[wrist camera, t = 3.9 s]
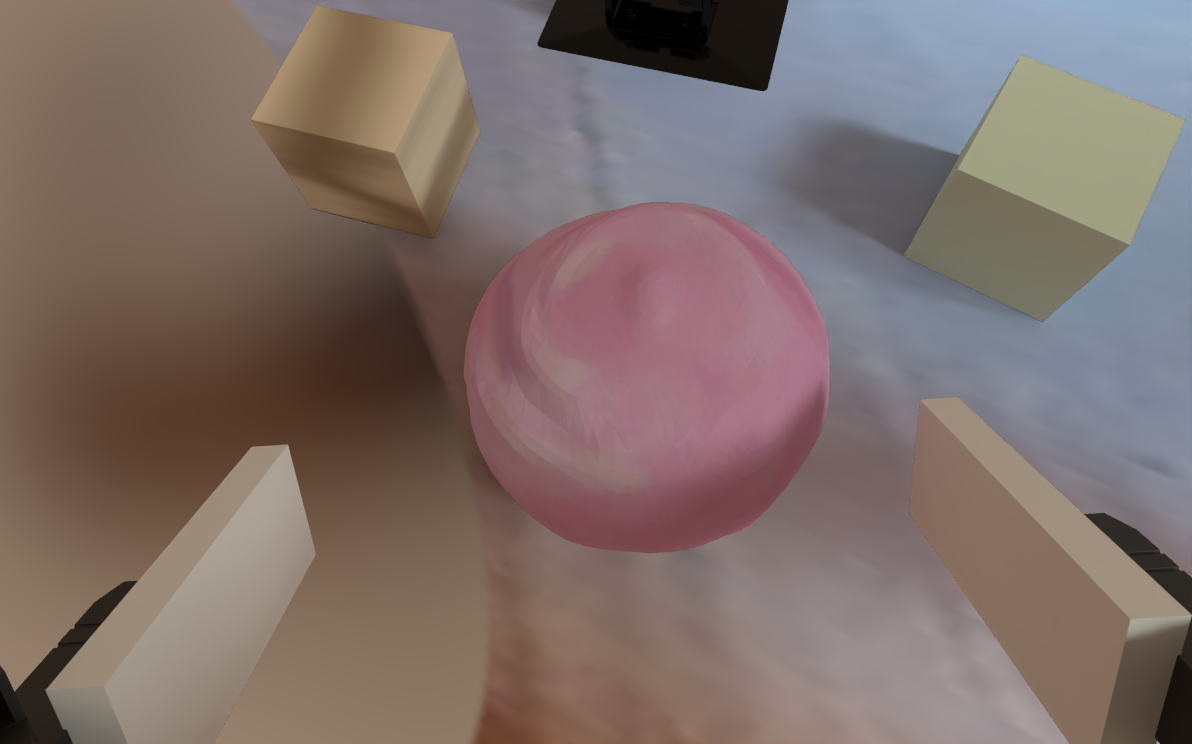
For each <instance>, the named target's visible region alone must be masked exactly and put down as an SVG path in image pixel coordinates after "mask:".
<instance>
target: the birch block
mask: <svg viewBox="0 0 1192 744" xmlns="http://www.w3.org/2000/svg"><path fill="white" fill-rule="evenodd" d="M251 120H252V122H253V123H254V125H255V126H256V128H257V129H258V131H259V132H260V134H261V135H262V136H263V138H264V140H265V141H266V143H267V144H268V145H269V147H270V148H271V150H272V151H273V153H274V154H275V156H276V157H277V159H278V160H279V161H280V163H281V165H282V166H283V167H284V169H285V170H286V172H287V173H288V175H289V176H290V178H291V179H292V181H293V182H294V184H295V185H296V187H297V188H298V189H299V191H300V192H301V194H302V195H303V197H304V198H305V200H306V201H307V203H308V204H309V206H310V207H311V208H312V209H314V210H318V211H321V212H326V213H329V214H333V215H337V216H342V217H345V218H349V219H353V220H357V221H361V222H366V223H370V224H373V225H375V224H377V225H381V226H385V227H389V228H393V229H397V230H401V231H405V232H409V233H413V234H417V235H421V236H425V237H429V238H434V236H435V234H436V231H437V229H438V227H439V224H440V222H441V220H442V218H443V215H444V213H445V211H446V209H447V206H448V204H449V202H450V200H451V197H452V195H453V193H454V190H455V188H456V186H457V184H458V181H459V179H460V177H461V175H462V172H463V170H464V168H465V166H466V163H467V161H468V159H469V156H470V154H471V152H472V150H473V147H474V145H475V143H476V141H477V138H478V136H479V134H480V129H479V125H478V121H477V118H476V114H475V111H474V107H473V104H472V100H471V97H470V93H469V90H468V86H467V82H466V79H465V75H464V72H463V68H462V65H461V61H460V58H459V54H458V50H457V47H456V43H455V40H454V36H453V33H450V32H445V31H440V30H435V29H430V28H425V27H420V26H415V25H410V24H406V23H401V22H396V21H391V20H386V19H381V18H376V17H371V16H366V15H361V14H356V13H352V12H347V11H342V10H337V9H332V8H327V7H322V6H316V8H315V9H314V11H313V13H312V15H311V16H310V18H309V20H308V21H307V23H306V25H305V27H304V28H303V30H302V32H301V34H300V35H299V37H298V39H297V40H296V42H295V44H294V46H293V47H292V49H291V51H290V53H289V54H288V56H287V58H286V59H285V61H284V63H283V65H282V66H281V68H280V70H279V72H278V73H277V75H276V77H275V79H274V80H273V82H272V84H271V85H270V87H269V89H268V91H267V92H266V94H265V96H264V98H263V100H262V101H261V103H260V105H259V106H258V108H257V110H256V111H255V113H254V115H253V117H252V118H251Z"/></svg>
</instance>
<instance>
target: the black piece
mask: <svg viewBox="0 0 1192 744" xmlns="http://www.w3.org/2000/svg"><path fill="white" fill-rule="evenodd" d="M787 4H788V0H556V2H555V4H554V6H553V9H552V11H551V13H550V16H549V18H548V20H547V22H546V25H545V27H544V29H543V32H542V34H541V36H540V38H539V41H538V46H539V47H542V48H547V49H552V50H557V51H562V52H567V53H572V54H577V55H582V56H587V57H592V58H597V59H602V60H607V61H612V62H617V63H622V64H628V65H633V66H638V67H643V68H648V69H653V70H658V71H663V72H668V73H673V74H678V75H683V76H688V77H693V78H698V79H703V80H708V81H713V82H718V83H723V84H728V85H733V86H738V87H743V88H748V89H753V90H758V91H765V90H767V88H768V84H769V80H770V76H771V71H772V67H773V63H774V59H775V55H776V50H777V46H778V42H779V38H780V34H781V29H782V25H783V21H784V17H785V13H786V9H787Z"/></svg>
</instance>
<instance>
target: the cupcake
mask: <svg viewBox="0 0 1192 744" xmlns="http://www.w3.org/2000/svg"><path fill="white" fill-rule="evenodd" d="M463 378H464V380H465V382H466V385H467V401H468V405H469V408H470V419H471V426H472V429H473V432H474V435H475V437H476V443H477V446H478V448H479V450H480V452H481V454H482V455H483V457H484V459H485V461H486V463H487V465H488V467H489V468H490V470H491V472H492V474H493V475H494V476H495V478H496V479H497V480H498V482H499V483H500V484H501V486H502V487H503V488H504V489H505V490H506V491H507V492H508V494H509V495H510V496H511V497H512V498H513V499H514V500H515V501H516V502H517V503H518V504H519V505H520V506H521V507H522V508H523V509H524V510H525V511H526V512H527V513H529V514H530V515H531V516H532V517H533V518H535V519H536V520H537V521H538V522H540V523H541V524H542V525H544V526H545V527H547V528H548V529H550V530H551V531H552V532H554V533H556V534H558V535H559V536H561V537H563V538H565V539H566V540H569V541H572V542H575V543H578V544H581V545H583V546H589V547H594V548H600V549H608V550H618V551H629V552H643V553H659V552H671V551H678V550H685V549H689V548H693V547H697V546H700V545H703V544H706V543H708V542H711V541H713V540H716V539H718V538H720V537H723V536H725V535H728V534H731V533H734V532H737V531H740V530H742V529H743V528H745V527H747V526H748V525H750V524H751V523H753V522H754V521H755V520H756V519H758V518H759V517H760V516H761V515H762V514H763V513H764V512H765V511H766V510H767V509H768V508H769V507H770V506H771V504H772V503H773V502H774V501H775V500H776V498H777V497H778V496H779V495H780V493H781V492H782V491H783V490H784V489H785V487H786V486H787V485H788V483H789V482H790V481H791V479H792V478H793V477H794V475H795V474H796V472H797V471H798V470H799V468H800V467H801V465H802V464H803V462H804V461H805V459H806V458H807V457H808V455H809V453H810V451H811V449H812V448H813V446H814V444H815V442H816V440H817V438H818V436H819V434H820V432H821V429H822V427H823V424H824V421H825V418H826V415H827V409H828V402H829V395H830V354H829V340H828V336H827V332H826V328H825V324H824V320H823V316H822V314H821V311H820V309H819V307H818V305H817V303H816V301H815V299H814V297H813V294H812V293H811V291H810V289H809V288H808V286H807V284H806V283H805V281H804V279H803V278H802V276H801V275H800V273H799V272H798V271H797V269H796V268H795V267H794V266H793V264H792V263H791V262H790V260H789V259H788V258H787V256H786V255H785V254H784V253H783V252H782V251H781V250H779V249H778V248H777V247H776V246H775V245H774V244H773V243H771V242H770V241H769V240H768V239H766V238H765V237H763V236H762V235H760V234H759V233H757V232H756V231H754V230H753V229H751V228H750V227H748V226H747V225H745V224H744V223H742V222H740V221H739V220H737V219H735V218H733V217H731V216H729V215H727V214H725V213H722V212H719V211H716V210H714V209H711V208H706V207H702V206H698V205H693V204H685V203H669V202H652V203H644V204H638V205H634V206H629V207H626V208H623V209H620V210H612V211H606V212H601V213H597V214H593V215H589V216H586V217H583V218H581V219H578V220H575V221H573V222H570V223H568V224H565V225H563V226H561V227H558V228H556V229H553V230H552V231H550V232H548V233H547V234H545V235H543V236H542V237H540V238H538V239H537V240H536V241H534V242H533V243H532V244H531V245H530V246H529V247H527V248H526V249H524V250H523V251H522V252H520V253H519V254H517V255H516V256H514V257H513V258H512V259H511V260H510V261H509V262H508V263H507V264H506V265H505V267H504V268H503V269H502V270H501V271H500V272H499V273H498V274H497V275H496V277H495V278H494V279H493V281H492V282H491V283H490V285H489V286H488V287H487V289H486V291H485V293H484V295H483V296H482V298H481V300H480V302H479V304H478V306H477V308H476V311H475V314H474V316H473V319H472V322H471V325H470V328H469V333H468V338H467V343H466V351H465V360H464V374H463Z"/></svg>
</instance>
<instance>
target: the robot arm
mask: <svg viewBox="0 0 1192 744" xmlns="http://www.w3.org/2000/svg"><path fill="white" fill-rule="evenodd" d="M909 514H910V516H911V517H912V518H913V520H914V521H915V523H916V524H917V526H918V527H919V528H920V530H921V531H922V533H923V534H924V536H925V537H926V539H927V540H928V541H929V543H930V544H931V546H932V547H933V549H934V550H935V551H936V553H937V554H938V556H939V557H940V559H941V560H942V561H943V563H944V564H945V566H946V567H947V569H948V570H949V571H950V573H951V574H952V576H953V577H954V579H955V580H956V582H957V583H958V584H959V586H960V587H961V589H962V590H963V592H964V593H965V594H966V596H967V597H968V599H969V600H970V602H971V603H972V604H973V606H974V607H975V609H976V610H977V612H978V613H979V614H980V616H981V617H982V619H983V620H984V622H985V623H986V625H987V626H988V627H989V629H990V630H991V632H992V633H993V635H994V636H995V637H996V639H997V640H998V642H999V643H1000V645H1001V646H1002V647H1003V649H1004V650H1005V652H1006V653H1007V655H1008V656H1009V658H1010V659H1011V660H1012V662H1013V663H1014V665H1015V666H1016V668H1017V669H1018V670H1019V672H1020V673H1021V675H1022V676H1023V678H1024V679H1025V680H1026V682H1027V683H1028V685H1029V686H1030V688H1031V689H1032V690H1033V692H1034V693H1035V695H1036V696H1037V698H1038V699H1039V701H1040V702H1041V703H1042V705H1043V706H1044V708H1045V709H1046V711H1047V712H1048V713H1049V715H1050V716H1051V718H1052V719H1053V721H1054V722H1055V723H1056V725H1057V726H1058V728H1059V729H1060V731H1061V732H1062V733H1063V735H1064V736H1065V738H1066V739H1067V741H1068V742H1069V744H1156V742H1157V740H1158V742H1159V743H1160V744H1192V578H1191V577H1190V576H1189V575H1188V574H1187V573H1186V572H1185V571H1180V570H1179V566H1178V565H1176V564H1175V563H1174V562H1173V561H1172V560H1171V559H1170V558H1168V557H1167V556H1166V555H1165V554H1160V550H1159V549H1158V548H1157V547H1156V546H1155V545H1154V544H1152V543H1151V542H1150V541H1149V540H1148V539H1147V538H1145V537H1144V536H1143V535H1142V534H1141V533H1140V532H1139V531H1137V530H1136V529H1134V528H1132V527H1130V526H1128V525H1126V524H1124V523H1122V522H1121V521H1119V520H1117V519H1115V518H1113V517H1111V516H1109V515H1107V514H1105V513H1096V514H1083V513H1082V512H1081V511H1080V510H1079V509H1077V508H1076V507H1075V506H1074V505H1073V504H1072V503H1071V502H1070V501H1069V500H1068V499H1067V498H1066V497H1065V496H1064V495H1062V494H1061V493H1060V492H1059V491H1058V490H1057V489H1056V488H1055V487H1054V486H1053V485H1052V484H1051V483H1050V482H1049V481H1047V480H1046V479H1045V478H1044V477H1043V476H1042V475H1041V474H1040V473H1039V472H1038V471H1037V470H1036V469H1035V468H1033V467H1032V466H1031V465H1030V464H1029V463H1028V462H1027V461H1026V460H1025V459H1024V458H1023V457H1022V456H1021V455H1020V454H1018V453H1017V452H1016V451H1015V450H1014V449H1013V448H1012V447H1011V446H1010V445H1009V444H1008V443H1007V442H1006V441H1004V440H1003V439H1002V438H1001V437H1000V436H999V435H998V434H997V433H996V432H995V431H994V430H993V429H992V428H991V427H989V426H988V425H987V424H986V423H985V422H984V421H983V420H982V419H981V418H980V417H979V416H978V415H977V414H975V413H974V412H973V411H972V410H971V409H970V408H969V407H968V406H967V405H966V404H965V403H964V402H963V401H962V400H960V399H959V398H958V397H949V398H935V399H921V400H920V406H919V416H918V427H917V437H916V447H915V458H914V468H913V478H912V489H911V499H910V509H909ZM315 555H316V552H315V548H314V544H313V540H312V536H311V533H310V528H309V525H308V521H307V517H306V513H305V509H304V506H303V501H302V497H301V493H300V489H299V486H298V482H297V478H296V474H295V470H294V466H293V462H292V459H291V454H290V450H289V447H288V444H287V445H273V446H259V447H251V448H250V450H249V451H248V452H247V453H246V454H245V456H244V457H243V458H242V459H241V460H240V461H239V463H238V464H237V465H236V466H235V467H234V468H233V470H232V471H231V472H230V473H229V474H228V475H227V477H226V478H225V479H224V480H223V482H222V483H221V484H220V485H219V486H218V487H217V488H216V490H215V491H214V492H213V493H212V494H211V496H210V497H209V498H208V499H207V500H206V501H205V503H204V504H203V505H202V506H201V507H200V509H199V510H198V511H197V512H196V513H195V514H194V516H193V517H192V518H191V519H190V520H189V522H188V523H187V524H186V525H185V526H184V527H183V529H182V530H181V531H180V532H179V533H178V534H177V536H176V537H175V538H174V539H173V540H172V542H171V543H170V544H169V545H168V546H167V548H166V549H165V550H164V551H163V552H162V553H161V555H160V556H159V557H158V558H157V559H156V561H155V562H154V563H153V564H152V565H151V566H150V568H149V569H148V570H147V571H146V572H145V574H144V575H143V576H142V577H141V578H140V579H139V580H138V581H128V582H123V583H122V584H120V585H119V586H117V587H116V588H114V589H113V590H111V591H110V592H109V593H107V594H106V595H104V596H103V597H102V598H100V599H99V600H97V601H96V602H95V603H94V604H93V605H92V606H91V607H90V608H89V609H88V610H87V611H86V613H85V614H84V615H83V616H82V617H81V618H80V619H79V620H78V622H77V623H76V624H75V628H74V629H70V631H69V632H68V633H67V634H66V635H65V636H64V637H63V638H62V639H61V641H60V642H59V643H58V647H57V648H53V649H52V651H51V652H50V653H49V654H48V655H47V656H46V657H45V658H44V660H43V661H42V662H41V663H40V664H39V665H38V666H37V667H36V669H35V670H34V671H33V672H32V673H31V674H30V675H29V676H28V677H27V679H26V680H25V681H24V682H23V683H22V684H21V685H20V686H19V688H18V689H17V690H16V691H15V692H14V690H13V688H12V686H11V684H10V681H9V679H8V677H7V675H6V673H5V671H4V670H3V669H2V668H1V666H0V744H214V743H215V741H216V739H217V737H218V735H219V733H220V731H221V730H222V728H223V726H224V724H225V722H226V720H227V719H228V717H229V715H230V713H231V711H232V709H233V707H234V706H235V704H236V702H237V700H238V698H239V696H240V694H241V693H242V691H243V689H244V687H245V685H246V683H247V681H248V680H249V678H250V676H251V674H252V672H253V670H254V668H255V666H256V665H257V663H258V661H259V659H260V657H261V655H262V653H263V651H264V650H265V648H266V646H267V644H268V642H269V641H270V639H271V636H272V635H273V633H274V631H275V629H276V628H277V626H278V624H279V622H280V620H281V618H282V616H283V615H284V612H285V611H286V609H287V607H288V605H289V603H290V601H291V600H292V598H293V596H294V594H295V592H296V590H297V588H298V586H299V585H300V583H301V581H302V579H303V577H304V575H305V574H306V572H307V570H308V568H309V566H310V564H311V563H312V561H313V559H314V557H315Z"/></svg>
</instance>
